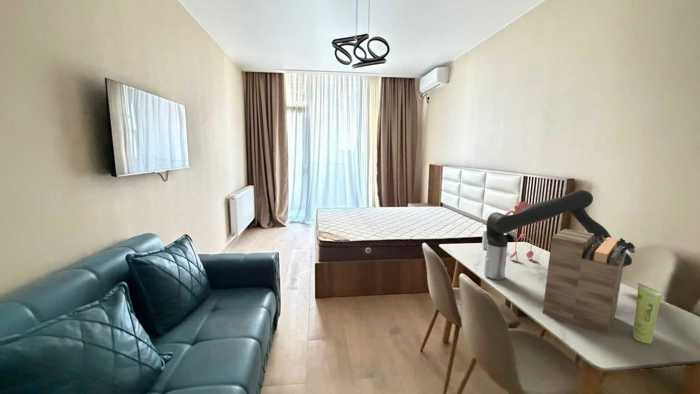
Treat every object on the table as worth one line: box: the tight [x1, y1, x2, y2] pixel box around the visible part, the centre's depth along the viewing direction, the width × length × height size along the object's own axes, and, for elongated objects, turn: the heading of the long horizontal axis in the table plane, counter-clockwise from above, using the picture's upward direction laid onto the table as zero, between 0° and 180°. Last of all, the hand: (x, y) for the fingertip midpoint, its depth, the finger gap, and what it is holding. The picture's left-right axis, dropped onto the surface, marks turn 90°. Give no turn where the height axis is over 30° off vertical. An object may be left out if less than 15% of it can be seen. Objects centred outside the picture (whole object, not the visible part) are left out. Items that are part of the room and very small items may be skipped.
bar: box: [594, 236, 620, 264], centre depth 115 cm, size 26×4×4 cm, turn 132°
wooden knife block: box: [542, 228, 625, 336], centre depth 117 cm, size 18×20×32 cm
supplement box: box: [481, 227, 488, 250], centre depth 197 cm, size 7×7×13 cm
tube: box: [632, 282, 664, 344], centre depth 104 cm, size 6×5×20 cm
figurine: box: [504, 201, 549, 263], centre depth 178 cm, size 15×26×35 cm, turn 94°
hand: (611, 238), depth 119 cm, fingers open, 5 cm apart
